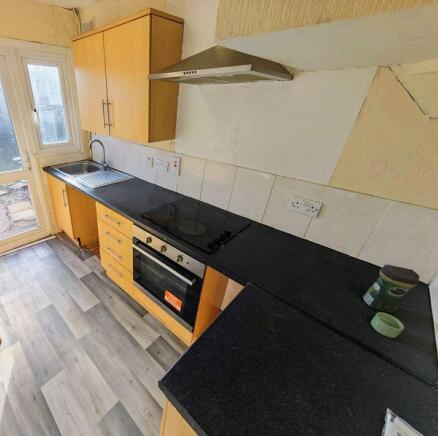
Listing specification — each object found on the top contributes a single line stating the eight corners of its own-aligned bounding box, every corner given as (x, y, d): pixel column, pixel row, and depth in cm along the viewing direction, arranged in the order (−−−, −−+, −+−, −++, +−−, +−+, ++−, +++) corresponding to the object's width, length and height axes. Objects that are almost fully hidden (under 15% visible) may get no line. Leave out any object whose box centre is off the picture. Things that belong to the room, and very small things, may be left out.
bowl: (378, 319, 85) (385, 310, 83) (401, 335, 79) (409, 327, 77) (365, 322, 83) (371, 314, 81) (387, 340, 77) (395, 331, 75)
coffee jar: (386, 301, 93) (413, 266, 85) (397, 316, 87) (428, 279, 78) (358, 294, 96) (381, 259, 87) (367, 308, 89) (393, 272, 81)
